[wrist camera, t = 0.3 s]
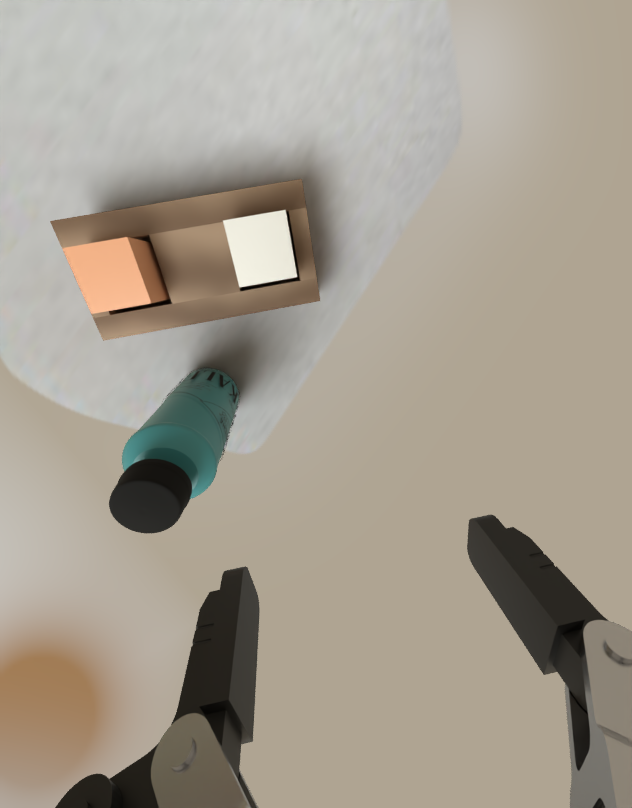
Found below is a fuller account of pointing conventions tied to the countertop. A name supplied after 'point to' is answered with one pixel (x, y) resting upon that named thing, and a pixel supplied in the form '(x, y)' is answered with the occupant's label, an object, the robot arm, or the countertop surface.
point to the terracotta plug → (117, 273)
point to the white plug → (261, 248)
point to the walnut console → (200, 256)
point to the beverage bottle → (175, 452)
